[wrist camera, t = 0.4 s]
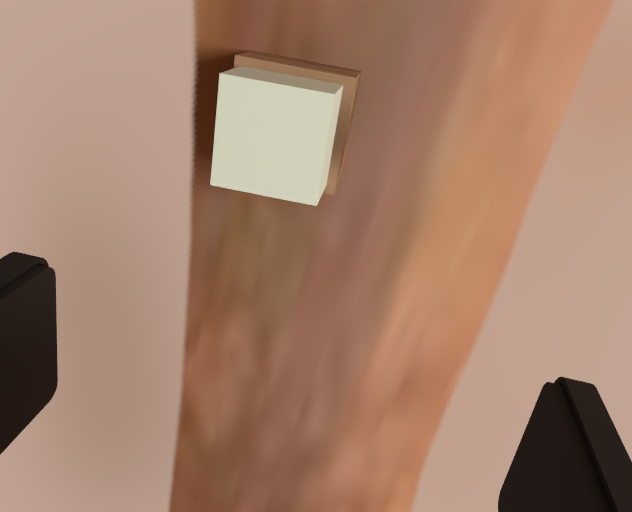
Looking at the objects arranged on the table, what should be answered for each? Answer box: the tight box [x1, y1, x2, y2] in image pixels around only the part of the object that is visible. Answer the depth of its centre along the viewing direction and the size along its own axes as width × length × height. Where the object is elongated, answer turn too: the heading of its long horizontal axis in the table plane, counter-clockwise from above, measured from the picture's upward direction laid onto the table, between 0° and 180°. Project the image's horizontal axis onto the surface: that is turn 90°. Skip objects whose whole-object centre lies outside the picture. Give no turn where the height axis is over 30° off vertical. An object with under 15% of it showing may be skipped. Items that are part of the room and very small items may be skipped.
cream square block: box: [210, 66, 343, 206], centre depth 33 cm, size 6×6×4 cm
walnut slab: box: [234, 51, 361, 195], centre depth 36 cm, size 7×7×4 cm
